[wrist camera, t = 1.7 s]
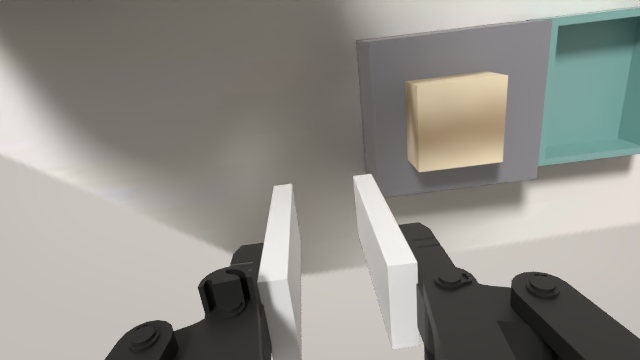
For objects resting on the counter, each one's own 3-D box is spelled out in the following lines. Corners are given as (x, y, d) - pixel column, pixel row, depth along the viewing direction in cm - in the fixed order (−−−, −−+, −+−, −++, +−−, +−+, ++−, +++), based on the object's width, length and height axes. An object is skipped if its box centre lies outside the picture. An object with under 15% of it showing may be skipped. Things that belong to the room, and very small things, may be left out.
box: (525, 20, 32) (551, 18, 29) (642, 6, 32) (681, 2, 29) (515, 154, 36) (537, 166, 33) (618, 142, 36) (649, 152, 33)
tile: (405, 81, 28) (417, 86, 25) (486, 71, 28) (508, 75, 25) (407, 159, 30) (418, 172, 27) (483, 150, 30) (502, 161, 27)
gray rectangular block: (356, 40, 32) (368, 41, 26) (508, 22, 32) (552, 19, 26) (366, 173, 36) (378, 198, 31) (500, 156, 36) (536, 178, 31)
